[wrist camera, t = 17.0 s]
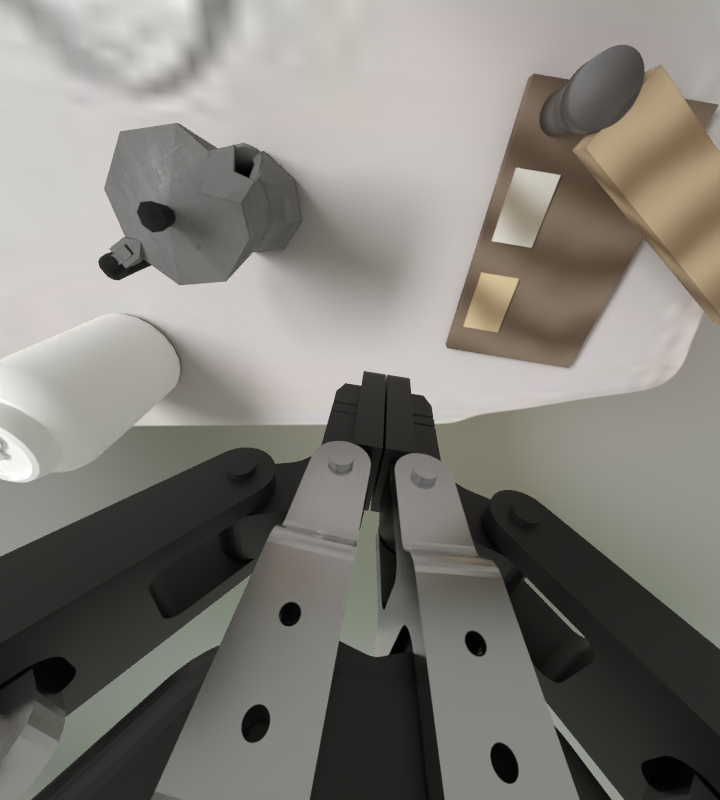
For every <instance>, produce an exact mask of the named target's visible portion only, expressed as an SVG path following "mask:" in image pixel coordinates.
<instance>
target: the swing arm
mask: <svg viewBox="0 0 720 800" xmlns="http://www.w3.org/2000/svg"><path fill="white" fill-rule="evenodd" d="M560 114H561V119H562V122H563V125H564V126H565V128H566V129H567V130H568V131H570V132H571V133H573V134H577V135H584V134H587V135H586V136H585V137H584V138H583V139H582V140H581V141H580V142H579V143H578V145H577V146H576V147H575V148H574V149H573V150H572V151H573V152H574V153H575V155H576V156H577V157H578V158H579V159H580V161H581V162H582V163H583V164H584V166H585V167H586V168H587V169H588V170H589V172H590V173H591V174H592V175H593V176H594V178H595V179H596V180H597V181H598V183H599V184H600V185H601V186H602V187H603V189H604V190H605V191H606V192H607V193H608V195H609V196H610V197H611V198H612V200H613V201H614V202H615V203H616V204H617V206H618V207H619V208H620V209H621V211H622V212H623V213H624V214H625V215H626V217H627V218H628V219H629V220H630V221H631V223H632V224H633V225H634V226H635V228H636V229H637V230H638V231H639V232H640V234H641V235H642V236H643V237H644V238H645V240H646V241H647V242H648V243H649V245H650V246H651V247H652V248H653V249H654V251H655V252H656V253H657V254H658V256H659V257H660V258H661V259H662V260H663V262H664V263H665V264H666V265H667V266H668V268H669V269H670V270H671V271H672V273H673V274H674V275H675V276H676V277H677V279H678V280H679V281H680V282H681V283H682V285H683V286H684V287H685V288H686V290H687V291H688V292H689V293H690V294H691V296H692V297H693V298H694V299H695V301H696V302H697V303H698V304H699V305H700V307H701V308H702V309H703V310H704V311H705V313H706V314H707V315H708V316H709V317H710V319H711V320H712V321H713V322H716V323H718V324H720V153H719V151H718V150H717V148H716V146H715V145H714V143H713V142H712V140H711V139H710V137H709V136H708V134H707V133H706V131H705V130H704V128H703V127H702V125H701V124H700V122H699V121H698V119H697V118H696V116H695V115H694V113H693V112H692V110H691V108H690V107H689V105H688V104H687V102H686V101H685V99H684V98H683V96H682V95H681V93H680V92H679V90H678V89H677V87H676V86H675V84H674V83H673V81H672V80H671V78H670V77H669V75H668V73H667V72H666V70H665V69H664V67H663V66H662V65H660V66H658V67H655V68H653V69H651V70H649V71H647V72H645V73H644V63H643V60H642V57H641V55H640V53H639V52H638V51H637V50H636V49H635V48H633V47H631V46H627V45H618V46H614V47H611V48H609V49H607V50H605V51H603V52H602V53H600V54H599V55H597V56H596V57H594V58H593V59H591V60H590V61H588V62H587V63H585V64H584V65H583V66H582V67H580V68H579V69H578V70H577V71H576V73H575V74H574V75H573V76H572V78H571V79H570V81H569V82H568V84H567V86H566V88H565V90H564V93H563V96H562V100H561V106H560Z"/></svg>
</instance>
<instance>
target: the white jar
mask: <svg viewBox="0 0 720 800" xmlns="http://www.w3.org/2000/svg"><path fill="white" fill-rule="evenodd" d="M179 376H180V363H179V359H178V356H177V354H176V352H175V350H174V348H173V346H172V345H171V344H170V342H169V341H168V340H167V339H166V337H165V336H164V335H163V334H162V333H160V332H159V331H158V330H157V329H156V328H154V327H153V326H152V325H150V324H149V323H147V322H145V321H143V320H141V319H139V318H137V317H133V316H128V315H124V314H105V315H102V316H100V317H98V318H95V319H93V320H91V321H88V322H86V323H84V324H81V325H79V326H76V327H74V328H72V329H69V330H67V331H65V332H62V333H60V334H58V335H55V336H53V337H51V338H48V339H46V340H44V341H41V342H39V343H37V344H34V345H32V346H30V347H27V348H25V349H23V350H20V351H18V352H16V353H13V354H11V355H9V356H6V357H4V358H2V359H0V479H3V480H7V481H12V482H28V481H31V480H34V479H37V478H40V477H42V476H45V475H47V474H48V473H49V472H69V471H72V470H75V469H77V468H80V467H82V466H84V465H86V464H88V463H90V462H92V461H93V460H95V459H96V458H97V457H98V456H99V455H101V454H102V453H103V452H104V451H105V450H106V449H107V448H108V447H109V446H111V445H112V444H113V443H114V442H115V441H116V440H117V439H118V438H120V437H121V436H122V435H123V434H124V433H125V432H126V431H127V430H128V429H129V428H131V427H132V426H133V425H134V424H135V423H136V422H137V421H138V420H139V419H141V418H142V417H143V416H144V415H145V414H146V413H147V412H148V411H149V410H151V409H152V408H153V407H154V406H155V405H156V404H157V403H158V402H159V401H161V400H162V399H163V398H164V397H165V396H166V395H167V394H168V393H169V392H171V390H172V389H173V388H174V387H175V386H176V385H177V383H178V379H179Z"/></svg>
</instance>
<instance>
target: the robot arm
mask: <svg viewBox="0 0 720 800" xmlns="http://www.w3.org/2000/svg"><path fill="white" fill-rule="evenodd" d="M434 426H435V425H434V419H433V413H432V407H431V405H430V404H429V402H428V401H427V400H426V399H425V397H424V396H422V395H415V394H411V387H410V379H409V378H404V377H398V376H392V375H387V377H386V375H385V374H379V373H372V372H366V371H364V374H363V380H362V386H358V385H352V384H346V383H345V384H344V385H343V386H342V387H341V388H340V389H338V390H337V392H336V395H335V399H334V403H333V406H332V410H331V413H330V417H329V420H328V424H327V427H326V431H325V435H324V438H323V442H322V445H321V446H319V447H318V448H317V449H316V450H315V451H314V453H313V454H312V456H311V457H309V458H307V459H304V460H301V461H298V462H292V463H281V464H275V463H274V461H273V459H272V458H271V456H269V455H268V454H267V453H266V452H264V451H262V450H259V449H255V448H237V449H233V450H229V451H227V452H224V453H223V454H220V455H218V456H216V457H214V458H212V459H210V460H207V461H205V462H203V463H201V464H199V465H197V466H194V467H192V468H190V469H188V470H186V471H184V472H181V473H179V474H177V475H175V476H173V477H171V478H169V479H167V480H164V481H162V482H160V483H158V484H156V485H154V486H151V487H149V488H147V489H145V490H143V491H141V492H138V493H136V494H134V495H132V496H130V497H128V498H126V499H123V500H121V501H119V502H117V503H115V504H113V505H111V506H108V507H106V508H104V509H102V510H100V511H98V512H95V513H94V514H91V515H89V516H87V517H85V518H83V519H80V520H79V521H76V522H74V523H72V524H70V525H68V526H66V527H63V528H61V529H59V530H57V531H55V532H52V533H50V534H48V535H46V536H44V537H42V538H40V539H38V540H35V541H33V542H31V543H29V544H27V545H25V546H23V547H20V548H18V549H16V550H14V551H12V552H10V553H7V554H5V555H3V556H1V557H0V800H16V799H17V798H18V797H19V796H20V795H21V794H22V793H23V792H24V791H25V790H26V789H27V788H28V787H29V786H30V785H31V784H32V782H33V781H34V780H35V779H36V778H37V777H38V775H39V774H40V773H41V771H42V770H43V768H44V767H45V766H46V764H47V763H48V761H49V759H50V758H51V756H52V754H53V753H54V750H55V748H56V746H57V744H58V742H59V740H60V737H61V734H62V731H63V727H64V723H65V717H66V716H67V715H69V714H70V713H71V712H73V711H74V710H75V709H77V708H78V707H79V706H80V705H82V704H83V703H84V702H86V701H87V700H88V699H90V698H91V697H92V696H93V695H95V694H96V693H97V692H99V691H100V690H101V689H103V688H104V687H105V686H106V685H108V684H109V683H110V682H111V681H113V680H114V679H116V678H117V677H118V676H119V675H121V674H122V673H123V672H125V671H126V670H127V669H128V668H130V667H131V666H132V665H134V664H135V663H136V662H137V661H139V660H140V659H141V658H143V657H144V656H145V655H147V654H148V653H149V652H151V651H152V650H153V649H154V648H156V647H157V646H158V645H160V644H161V643H162V642H163V641H165V640H166V639H167V638H169V637H170V636H171V635H173V634H174V633H175V632H177V631H178V630H179V629H180V628H182V627H183V626H184V625H186V624H187V623H188V622H190V621H191V620H192V619H193V618H195V617H196V616H197V615H199V614H200V613H201V612H202V611H204V610H205V609H206V608H208V607H209V606H210V605H212V604H213V603H214V602H215V601H217V600H218V599H219V598H221V597H222V596H223V595H224V594H226V593H227V592H228V591H230V590H231V589H232V588H234V587H235V586H236V585H238V584H239V583H240V582H241V581H243V580H244V579H245V578H246V577H248V576H249V575H250V574H252V575H251V577H250V579H249V582H248V584H247V586H246V588H245V590H244V593H243V595H242V597H241V599H240V602H239V604H238V606H237V608H236V611H235V613H234V615H233V617H232V620H231V622H230V624H229V627H228V628H227V631H226V633H225V636H224V638H223V640H222V642H221V644H220V645H219V646H217V647H215V648H212V649H210V650H208V651H206V652H205V653H203V654H201V655H200V656H198V657H196V658H194V659H193V660H191V661H190V662H188V663H187V664H186V665H184V666H183V667H182V668H180V669H179V670H177V671H176V672H175V673H174V674H172V675H171V676H170V677H169V678H168V679H166V680H165V681H164V682H163V683H162V684H161V685H160V686H158V687H157V688H156V689H155V690H154V691H153V692H152V693H151V694H149V695H148V696H147V697H146V698H145V699H144V700H143V701H142V702H141V703H139V704H138V705H137V706H136V707H135V708H134V709H133V710H132V711H130V712H129V713H128V714H127V715H126V716H125V717H124V718H123V719H121V720H120V721H119V722H118V723H117V724H116V725H115V726H114V727H113V728H112V729H110V730H109V731H108V732H107V733H106V734H105V735H103V736H102V737H101V738H100V739H99V740H98V741H97V742H96V743H95V744H93V745H92V746H91V747H90V748H89V749H88V750H87V751H86V752H84V754H82V755H81V756H80V757H79V758H78V759H77V760H76V761H74V762H73V763H72V764H71V765H70V766H69V767H68V768H66V769H65V770H64V771H63V772H62V773H61V774H60V775H59V776H57V777H56V778H55V779H54V780H53V781H52V782H51V783H50V784H49V785H47V786H46V787H45V788H44V789H43V790H42V791H41V792H39V793H38V794H37V795H36V796H35V797H34V798H33V799H32V800H611V798H610V797H609V796H608V794H607V793H606V792H605V791H604V789H603V788H602V786H601V785H600V784H599V782H598V781H597V780H596V778H595V777H594V776H593V775H592V773H591V772H590V770H589V769H588V768H587V766H586V765H585V764H584V763H583V761H582V760H581V758H580V757H579V756H578V754H577V753H576V752H575V751H574V749H573V748H572V746H571V745H570V744H569V743H568V741H567V740H566V739H565V738H564V736H563V735H562V734H561V733H560V732H559V730H558V729H557V728H556V727H555V726H554V725H553V722H552V719H551V716H550V713H549V711H548V707H547V705H546V702H547V704H548V705H549V706H550V707H551V709H552V710H553V711H554V712H555V714H556V715H557V716H558V717H559V718H560V720H561V721H562V722H563V724H564V725H565V726H566V727H567V729H568V730H569V731H570V732H571V734H572V735H573V736H574V737H575V738H576V740H577V741H578V742H579V744H580V745H581V746H582V747H583V749H584V750H585V751H586V752H587V754H588V755H589V756H590V757H591V758H592V760H593V761H594V762H595V763H596V765H597V766H598V767H599V768H600V770H601V771H602V772H603V773H604V775H605V776H606V777H607V778H608V780H609V781H610V782H611V783H612V785H613V786H614V787H615V788H616V789H617V791H618V792H619V793H620V795H621V796H622V797H623V798H624V800H720V649H719V648H717V647H716V646H715V645H714V644H713V643H711V642H710V641H709V640H708V639H706V638H705V637H704V636H702V634H700V633H699V632H698V631H697V630H695V629H694V628H693V627H692V626H691V625H689V624H688V623H687V622H686V621H684V620H683V619H682V618H681V617H679V616H678V615H677V614H676V613H675V612H673V611H672V610H671V609H670V608H668V607H667V606H666V605H665V604H664V603H662V602H661V601H660V600H659V599H657V598H656V597H655V596H653V595H652V594H651V593H650V592H649V591H648V590H646V589H645V588H644V587H643V586H641V585H640V584H639V583H638V582H637V581H635V580H634V579H633V578H632V577H630V576H629V575H628V574H627V573H625V572H624V571H623V570H622V569H621V568H619V567H618V566H617V565H616V564H614V563H613V562H612V561H611V560H609V559H608V558H607V557H606V556H605V555H603V554H602V553H601V552H600V551H599V550H597V549H596V548H595V547H594V546H592V545H591V544H590V543H589V542H587V541H586V540H585V539H584V538H583V537H581V536H580V535H579V534H578V533H577V532H575V531H574V530H573V529H572V528H570V527H569V526H568V525H567V524H565V523H564V522H563V521H562V520H561V519H559V518H558V517H557V516H556V515H554V514H553V513H552V512H551V511H550V510H548V509H547V508H546V507H545V506H543V505H542V504H541V503H539V502H538V501H537V500H535V499H534V498H532V497H530V496H528V495H526V494H524V493H521V492H518V491H512V490H504V491H499V492H497V493H496V494H495V495H493V497H492V498H491V500H490V499H488V498H485V497H483V496H481V495H478V494H476V493H474V492H471V491H469V490H467V489H465V488H463V487H461V486H460V485H458V484H457V483H455V481H454V478H453V475H452V473H451V471H450V470H449V469H448V467H447V466H446V465H445V464H444V463H442V462H441V460H440V454H439V448H438V442H437V436H436V430H435V428H434ZM371 496H372V499H371ZM370 501H371V511H375V512H380V517H379V527H378V531H377V534H376V570H377V603H378V620H377V630H376V638H375V657H373V656H369V655H366V654H364V653H362V652H360V651H358V650H356V649H354V648H352V647H350V646H348V645H346V644H344V643H342V642H340V641H339V638H340V632H341V628H342V622H343V617H344V611H345V606H346V601H347V595H348V590H349V584H350V579H351V574H352V568H353V563H354V557H355V552H356V546H357V538H358V532H359V530H360V527H361V522H362V518H363V513H364V510H368V509H369V505H370ZM526 577H527V578H528V579H529V580H530V581H531V582H532V583H533V584H534V585H535V587H536V588H538V590H539V591H540V592H542V594H543V595H544V596H545V597H546V598H547V599H549V601H550V602H551V603H552V604H553V605H554V606H555V607H556V608H557V609H558V610H559V611H560V612H561V613H562V614H563V615H564V616H565V617H566V618H567V619H568V620H569V621H570V622H571V623H572V624H573V625H574V626H575V627H576V628H577V629H578V630H579V631H580V632H581V633H582V634H583V635H584V637H585V638H583V637H581V636H579V635H578V634H577V633H575V632H574V631H573V630H572V629H571V628H570V627H569V626H568V625H567V624H566V623H565V622H564V621H563V620H562V619H561V618H560V617H559V616H558V615H557V614H556V613H555V612H554V611H553V610H552V609H551V608H550V607H549V606H548V605H547V604H546V603H545V602H544V600H543V599H542V598H541V597H540V596H539V595H538V594H537V593H536V592H535V591H534V590H533V589H532V588H531V587H530V586H529V585H528V584H527V583H526V582H525V581H524V579H525V578H526ZM545 701H546V702H545Z"/></svg>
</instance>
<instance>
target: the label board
mask: <svg viewBox="0 0 720 800" xmlns="http://www.w3.org/2000/svg"><path fill="white" fill-rule="evenodd" d="M569 81H570V80H568V79H562V78H556V77H550V76H544V75H538V74H533V75H532V76H531V77H529V79H528V82H527V85H526V88H525V91H524V95H523V98H522V101H521V104H520V108H519V111H518V114H517V117H516V120H515V124H514V127H513V130H512V133H511V136H510V140H509V143H508V146H507V149H506V153H505V156H504V159H503V162H502V165H501V169H500V172H499V175H498V178H497V181H496V185H495V188H494V191H493V194H492V198H491V201H490V204H489V207H488V210H487V214H486V217H485V220H484V223H483V226H482V230H481V233H480V236H479V239H478V243H477V246H476V249H475V252H474V255H473V259H472V262H471V265H470V268H469V271H468V275H467V278H466V281H465V284H464V288H463V291H462V294H461V297H460V300H459V304H458V307H457V310H456V313H455V316H454V320H453V323H452V326H451V329H450V333H449V336H448V339H447V342H446V346H447V348H450V349H456V350H463V351H469V352H475V353H481V354H487V355H493V356H499V357H505V358H511V359H517V360H523V361H529V362H535V363H541V364H547V365H554V366H560V367H566V368H569V367H570V365H571V363H572V362H573V360H574V358H575V356H576V355H577V353H578V351H579V349H580V348H581V346H582V344H583V342H584V341H585V339H586V337H587V335H588V334H589V332H590V330H591V328H592V327H593V325H594V323H595V321H596V320H597V318H598V316H599V314H600V313H601V311H602V309H603V307H604V305H605V304H606V302H607V300H608V298H609V297H610V295H611V293H612V291H613V290H614V288H615V286H616V284H617V283H618V281H619V279H620V277H621V276H622V274H623V272H624V270H625V269H626V267H627V265H628V263H629V262H630V260H631V258H632V256H633V255H634V253H635V251H636V249H637V248H638V246H639V244H640V242H641V240H642V239H643V236H642V235H641V234H640V232H639V231H638V230H637V229H636V228H635V226H634V225H633V224H632V223H631V221H630V220H629V219H628V218H627V217H626V215H625V214H624V213H623V212H622V211H621V209H620V208H619V207H618V206H617V204H616V203H615V202H614V201H613V200H612V198H611V197H610V196H609V195H608V193H607V192H606V191H605V190H604V189H603V187H602V186H601V185H600V184H599V183H598V181H597V180H596V179H595V178H594V176H593V175H592V174H591V173H590V172H589V170H588V169H587V168H586V167H585V166H584V164H583V163H582V162H581V161H580V159H579V158H578V157H577V156H576V155H575V153H574V152H573V151H572V150H573V149H574V148H575V147H576V146H577V145H578V143H579V142H580V141H581V140H582V139H583V138H584V137H585V136H586V135H587V134H584V135H577V134H573V133H571V132H570V131H568V130H567V129H566V128H565V126H564V125H563V122H562V119H561V114H560V106H561V100H562V96H563V93H564V90H565V88H566V86H567V84H568V82H569ZM685 101H686V102H687V104H688V105H689V107H690V108H691V110H692V112H693V113H694V115H695V116H696V118H697V119H698V121H699V122H700V124H701V125H702V127H703V128H704V130H705V128H706V126H707V125H708V123H709V121H710V119H711V118H712V116H713V114H714V112H715V111H716V109H717V107H718V105H717V104H711V103H705V102H699V101H693V100H687V99H685Z"/></svg>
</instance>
